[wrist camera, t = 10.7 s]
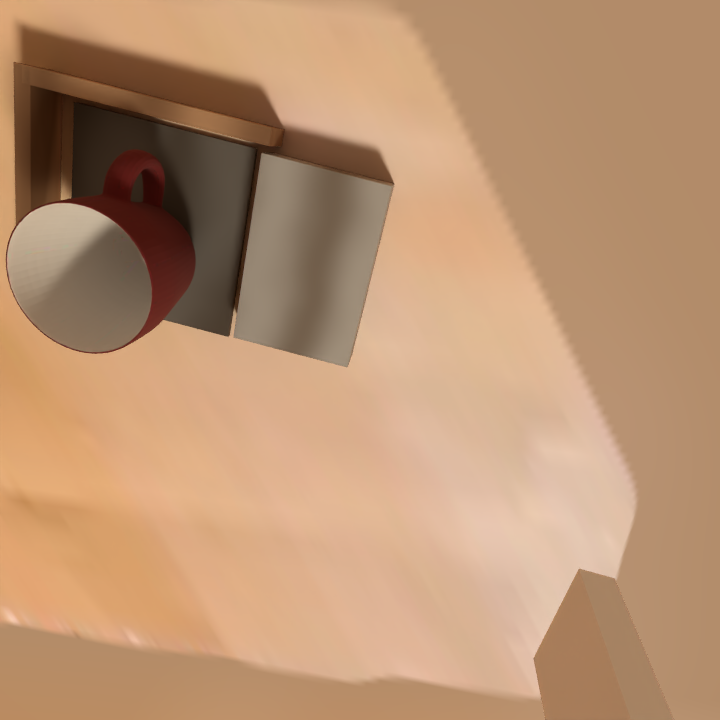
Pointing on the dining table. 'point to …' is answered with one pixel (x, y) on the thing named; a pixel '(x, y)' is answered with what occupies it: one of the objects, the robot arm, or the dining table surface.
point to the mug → (102, 261)
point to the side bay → (220, 210)
